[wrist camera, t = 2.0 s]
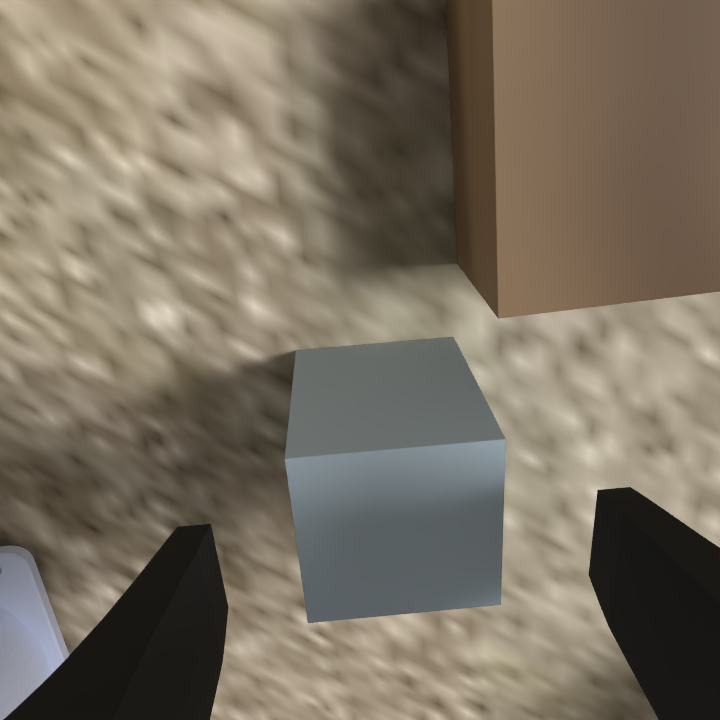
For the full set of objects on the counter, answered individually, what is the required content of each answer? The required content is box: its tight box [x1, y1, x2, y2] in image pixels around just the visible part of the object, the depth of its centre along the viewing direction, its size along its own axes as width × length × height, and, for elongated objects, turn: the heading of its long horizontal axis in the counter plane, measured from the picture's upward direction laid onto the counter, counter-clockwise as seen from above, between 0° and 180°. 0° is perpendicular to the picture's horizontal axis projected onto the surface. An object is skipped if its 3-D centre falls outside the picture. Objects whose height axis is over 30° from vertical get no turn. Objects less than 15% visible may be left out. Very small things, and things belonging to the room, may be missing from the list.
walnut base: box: [445, 0, 720, 318], centre depth 12 cm, size 6×6×4 cm
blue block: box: [285, 337, 506, 623], centre depth 14 cm, size 4×4×5 cm
